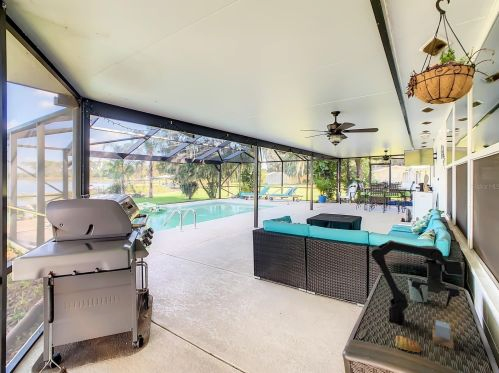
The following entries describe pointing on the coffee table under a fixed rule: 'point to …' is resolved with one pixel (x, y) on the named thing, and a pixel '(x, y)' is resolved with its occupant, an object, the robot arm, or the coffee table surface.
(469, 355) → the coffee table surface
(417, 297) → the drinking glass
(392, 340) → the coffee table surface
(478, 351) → the coffee table surface
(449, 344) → the walnut block
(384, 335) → the coffee table surface
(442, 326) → the cube
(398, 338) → the pastry
